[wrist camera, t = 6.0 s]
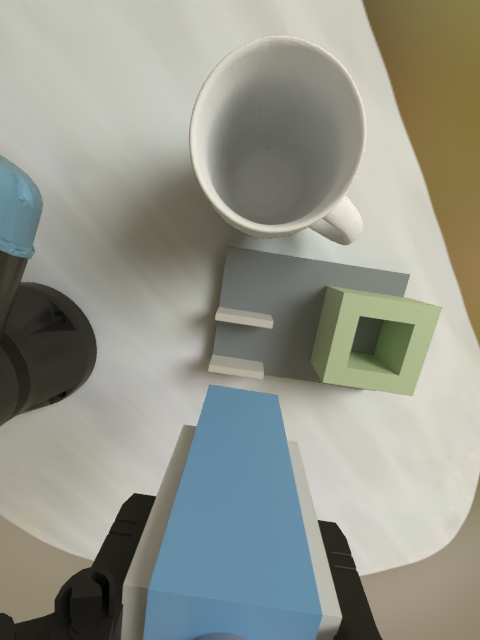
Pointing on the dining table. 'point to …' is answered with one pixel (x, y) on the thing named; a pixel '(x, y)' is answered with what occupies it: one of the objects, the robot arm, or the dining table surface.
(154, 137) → the dining table surface
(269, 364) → the panel
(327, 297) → the port
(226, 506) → the plug
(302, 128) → the mug
